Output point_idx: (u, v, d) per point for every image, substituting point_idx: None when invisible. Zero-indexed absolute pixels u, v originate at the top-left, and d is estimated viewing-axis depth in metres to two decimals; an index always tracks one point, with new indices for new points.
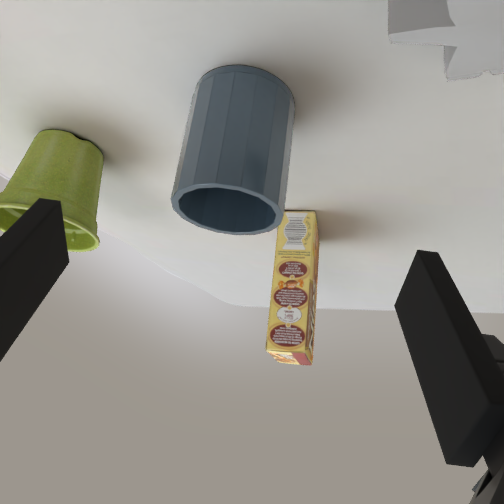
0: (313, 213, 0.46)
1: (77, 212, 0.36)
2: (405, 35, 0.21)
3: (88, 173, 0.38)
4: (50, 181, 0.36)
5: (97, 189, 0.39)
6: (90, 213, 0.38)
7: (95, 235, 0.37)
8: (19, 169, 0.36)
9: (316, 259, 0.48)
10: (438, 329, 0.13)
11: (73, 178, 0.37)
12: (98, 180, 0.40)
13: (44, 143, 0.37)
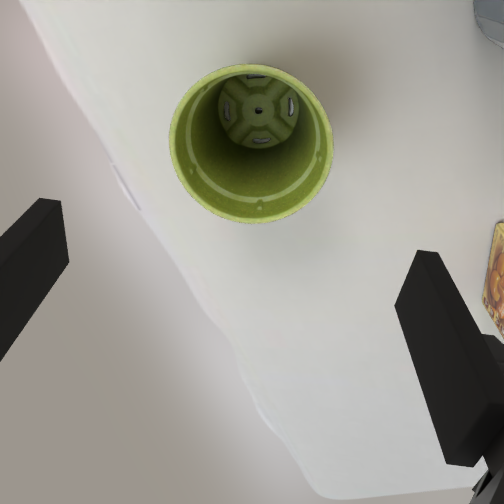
0: None
1: (316, 111, 0.24)
2: None
3: (304, 104, 0.28)
4: None
5: (307, 132, 0.29)
6: (317, 136, 0.26)
7: (332, 154, 0.25)
8: None
9: None
10: (438, 329, 0.13)
11: None
12: None
13: None
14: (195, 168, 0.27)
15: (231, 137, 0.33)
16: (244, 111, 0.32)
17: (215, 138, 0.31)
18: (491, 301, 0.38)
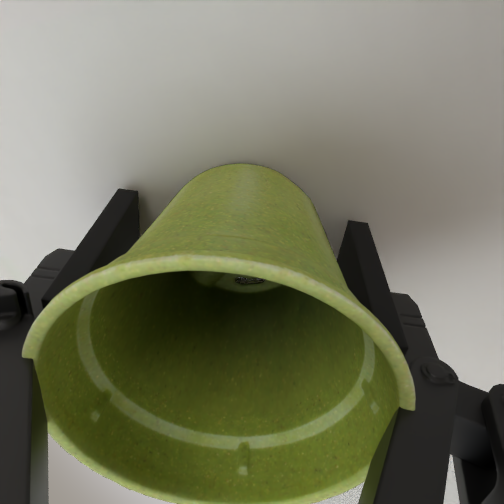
0: None
1: None
2: None
3: (333, 253, 0.14)
4: (279, 231, 0.11)
5: None
6: (367, 352, 0.12)
7: None
8: (167, 217, 0.12)
9: None
10: (356, 288, 0.14)
11: (323, 244, 0.12)
12: None
13: (226, 176, 0.14)
14: (107, 401, 0.13)
15: (197, 278, 0.18)
16: None
17: (163, 295, 0.17)
18: None
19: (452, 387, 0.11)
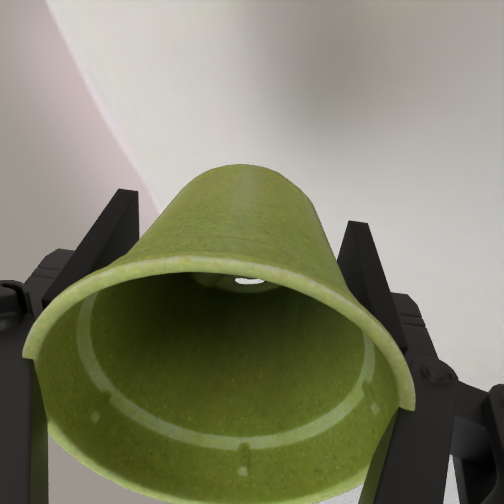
0: None
1: None
2: None
3: None
4: (280, 232, 0.11)
5: None
6: (367, 353, 0.12)
7: None
8: (167, 217, 0.12)
9: None
10: (356, 288, 0.14)
11: (324, 245, 0.12)
12: None
13: (227, 177, 0.14)
14: (108, 401, 0.13)
15: (197, 278, 0.18)
16: None
17: (163, 296, 0.17)
18: None
19: (452, 387, 0.11)
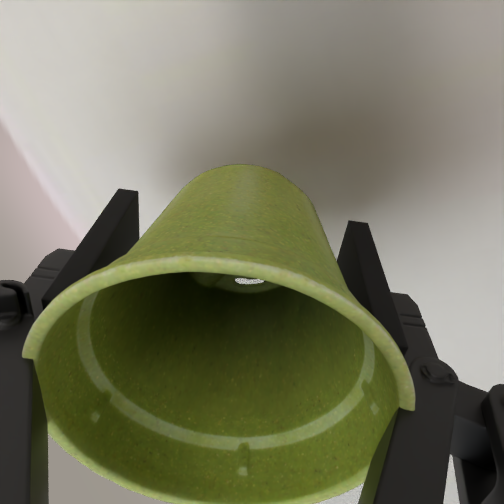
0: None
1: None
2: None
3: None
4: (279, 232, 0.11)
5: None
6: (367, 354, 0.12)
7: None
8: (167, 217, 0.12)
9: None
10: (356, 288, 0.14)
11: (324, 245, 0.12)
12: None
13: (227, 177, 0.14)
14: (107, 401, 0.13)
15: (196, 278, 0.18)
16: None
17: (163, 296, 0.17)
18: None
19: (452, 387, 0.11)
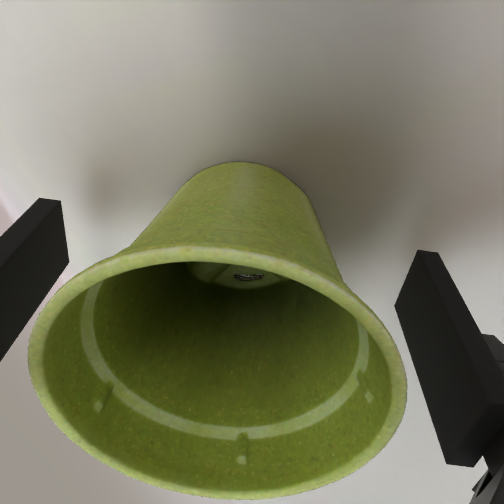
0: None
1: None
2: None
3: None
4: (276, 226, 0.12)
5: None
6: (362, 343, 0.12)
7: None
8: (168, 213, 0.13)
9: None
10: (438, 329, 0.13)
11: (319, 239, 0.13)
12: None
13: (225, 174, 0.15)
14: (110, 392, 0.13)
15: (196, 274, 0.19)
16: None
17: (163, 291, 0.17)
18: None
19: None
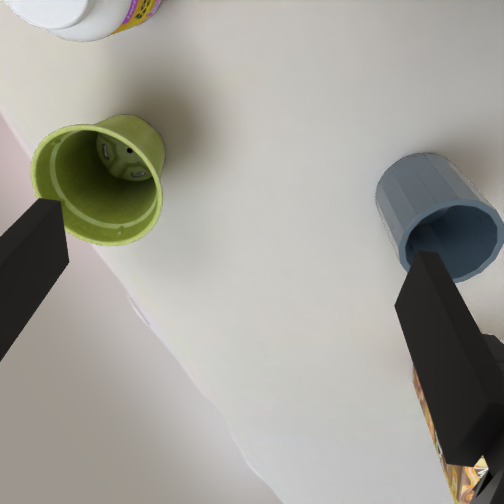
0: None
1: (147, 157, 0.31)
2: None
3: (155, 147, 0.35)
4: (120, 129, 0.32)
5: (160, 169, 0.35)
6: None
7: None
8: None
9: None
10: (438, 329, 0.13)
11: (143, 138, 0.33)
12: (161, 164, 0.36)
13: (113, 117, 0.35)
14: (63, 203, 0.33)
15: (111, 172, 0.39)
16: (118, 151, 0.38)
17: (92, 175, 0.37)
18: (416, 385, 0.50)
19: None
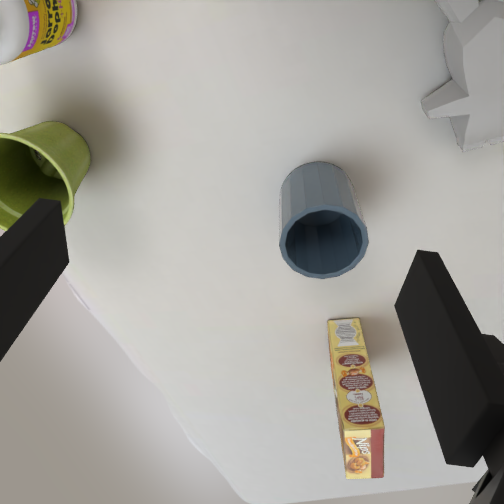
0: (358, 319, 0.53)
1: (59, 161, 0.35)
2: (438, 110, 0.35)
3: (75, 151, 0.39)
4: (39, 136, 0.36)
5: (80, 171, 0.40)
6: (71, 177, 0.37)
7: (72, 190, 0.36)
8: None
9: None
10: (438, 329, 0.13)
11: (61, 144, 0.38)
12: (83, 166, 0.40)
13: (39, 124, 0.40)
14: None
15: (44, 172, 0.44)
16: None
17: (23, 174, 0.42)
18: None
19: None
